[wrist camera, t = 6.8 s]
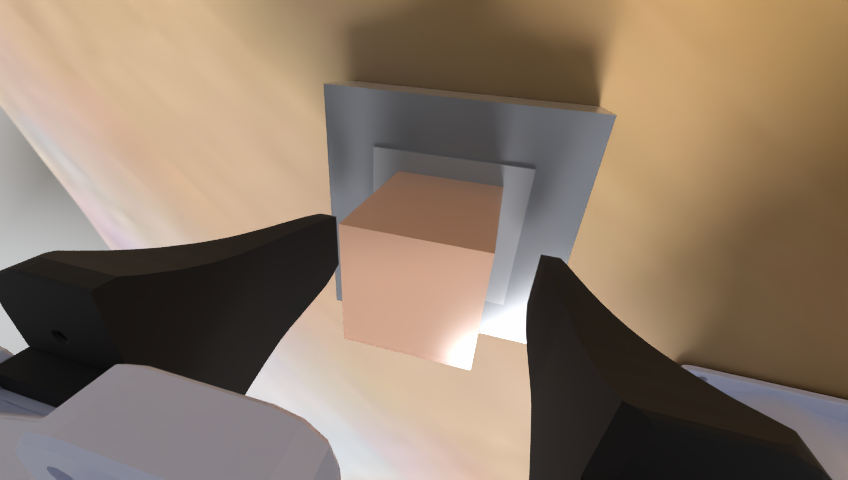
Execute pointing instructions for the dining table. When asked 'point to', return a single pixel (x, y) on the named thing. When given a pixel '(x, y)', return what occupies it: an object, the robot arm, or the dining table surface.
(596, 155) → the slate plinth
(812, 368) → the dining table surface
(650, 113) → the dining table surface
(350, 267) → the terracotta block
